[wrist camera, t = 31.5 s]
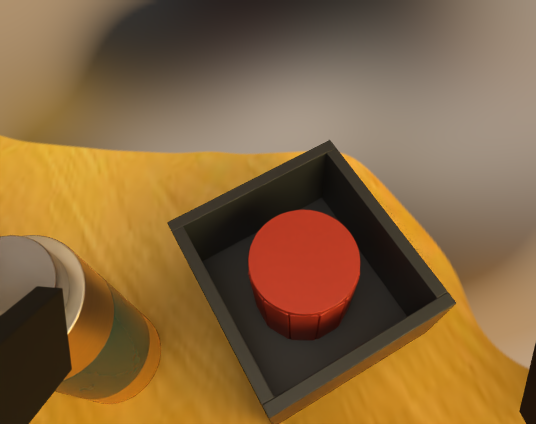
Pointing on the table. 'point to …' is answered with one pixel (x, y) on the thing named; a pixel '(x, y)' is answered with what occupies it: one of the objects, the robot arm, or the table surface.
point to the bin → (364, 298)
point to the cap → (303, 273)
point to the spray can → (84, 319)
